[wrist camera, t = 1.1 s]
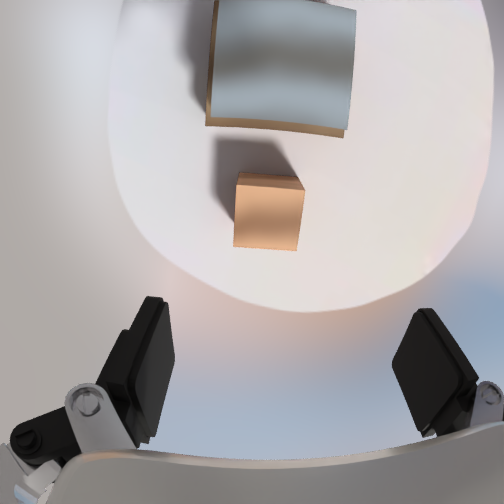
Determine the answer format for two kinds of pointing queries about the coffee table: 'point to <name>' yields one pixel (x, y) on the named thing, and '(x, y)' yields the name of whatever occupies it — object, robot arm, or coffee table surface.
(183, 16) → the coffee table surface
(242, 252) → the coffee table surface
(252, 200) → the terracotta block
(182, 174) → the coffee table surface
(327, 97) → the brick tower
